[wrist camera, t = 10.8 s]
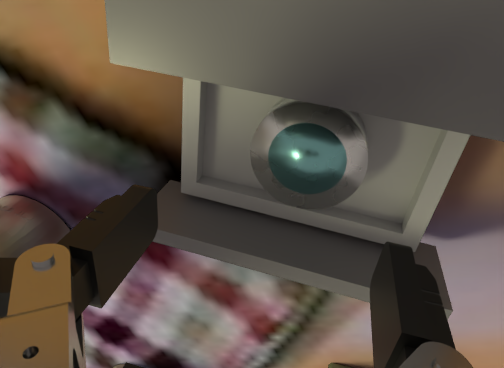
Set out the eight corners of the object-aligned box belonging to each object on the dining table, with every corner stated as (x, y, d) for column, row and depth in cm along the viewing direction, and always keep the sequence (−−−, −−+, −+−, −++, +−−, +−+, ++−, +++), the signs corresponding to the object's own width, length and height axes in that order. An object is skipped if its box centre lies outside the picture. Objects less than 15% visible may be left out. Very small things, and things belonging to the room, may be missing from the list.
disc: (383, 105, 18) (385, 119, 16) (349, 202, 21) (348, 222, 20) (268, 79, 19) (258, 90, 17) (252, 176, 22) (243, 193, 21)
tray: (426, 264, 23) (440, 330, 19) (170, 197, 26) (132, 241, 21) (604, -87, 14) (715, -116, 9) (170, -131, 16) (102, -168, 12)
